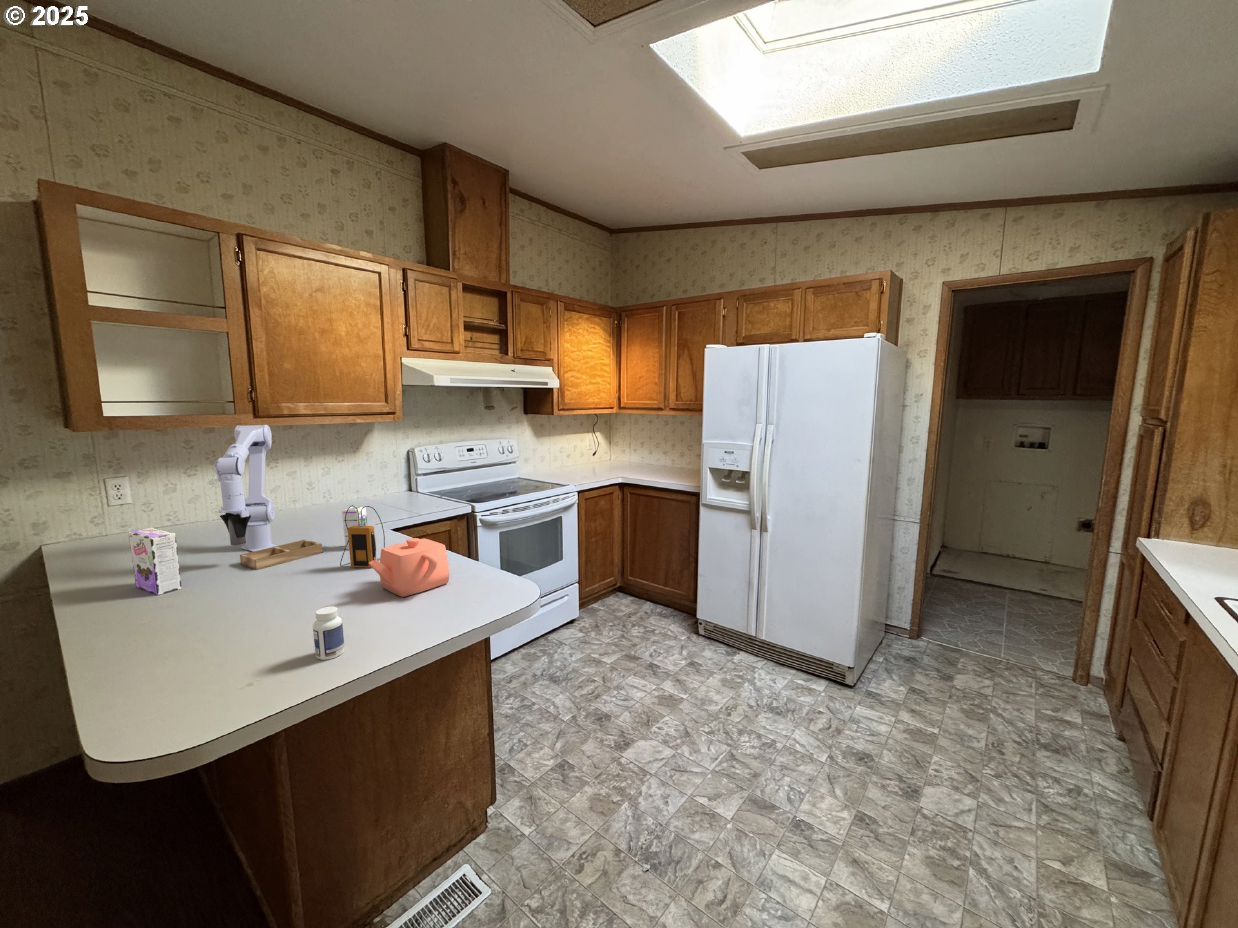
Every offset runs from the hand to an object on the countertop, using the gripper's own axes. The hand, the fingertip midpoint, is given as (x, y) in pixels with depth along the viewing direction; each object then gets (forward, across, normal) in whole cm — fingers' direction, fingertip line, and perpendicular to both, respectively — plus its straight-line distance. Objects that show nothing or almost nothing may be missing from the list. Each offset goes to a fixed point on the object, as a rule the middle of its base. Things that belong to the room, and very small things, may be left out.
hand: (237, 536), depth 166 cm
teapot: (+10, +65, +15) cm, 68 cm away
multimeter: (+10, +35, +22) cm, 43 cm away
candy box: (+10, +4, -22) cm, 24 cm away
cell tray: (+9, +5, +10) cm, 15 cm away
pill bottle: (+9, +84, -17) cm, 86 cm away
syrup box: (+10, +15, +30) cm, 35 cm away
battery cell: (+2, 0, 0) cm, 2 cm away
